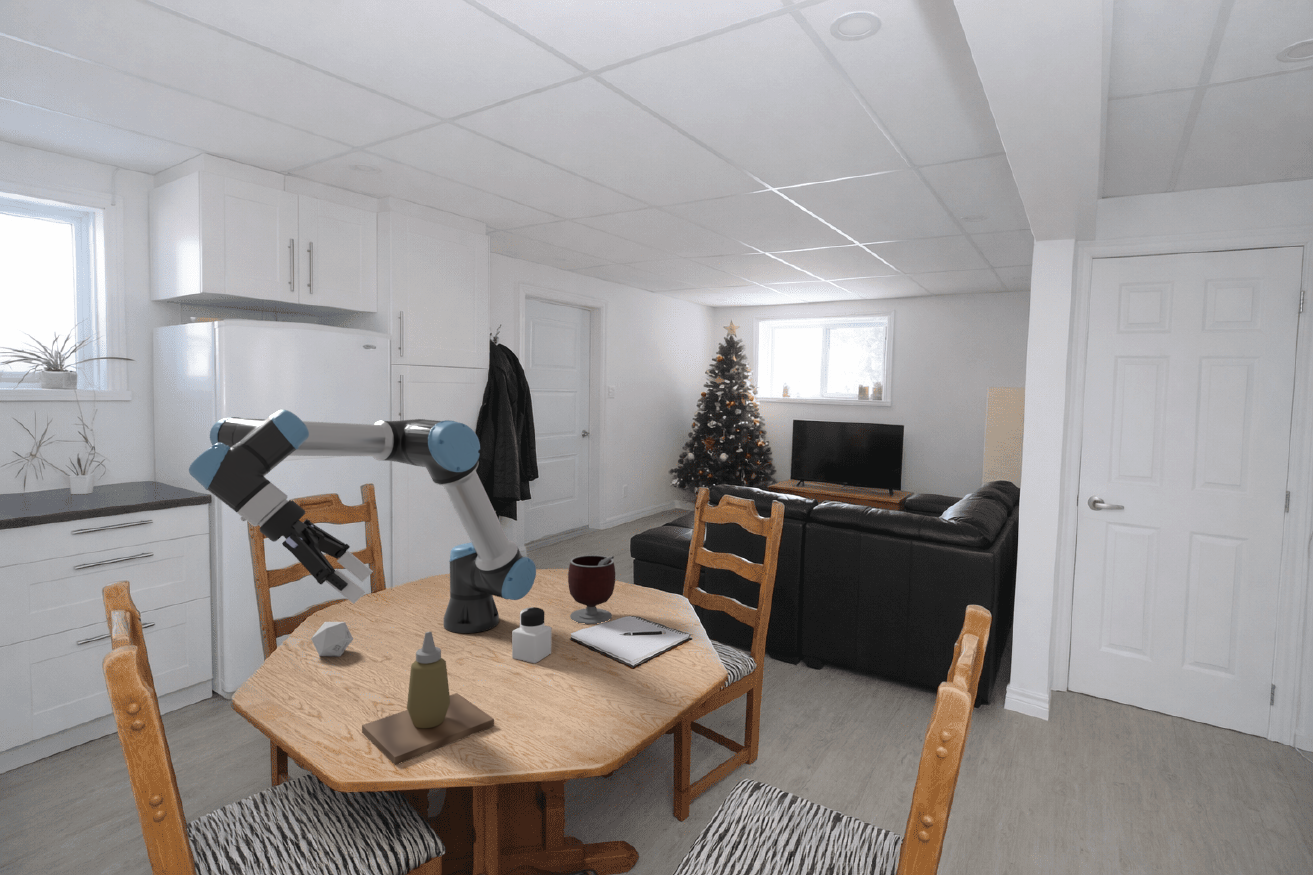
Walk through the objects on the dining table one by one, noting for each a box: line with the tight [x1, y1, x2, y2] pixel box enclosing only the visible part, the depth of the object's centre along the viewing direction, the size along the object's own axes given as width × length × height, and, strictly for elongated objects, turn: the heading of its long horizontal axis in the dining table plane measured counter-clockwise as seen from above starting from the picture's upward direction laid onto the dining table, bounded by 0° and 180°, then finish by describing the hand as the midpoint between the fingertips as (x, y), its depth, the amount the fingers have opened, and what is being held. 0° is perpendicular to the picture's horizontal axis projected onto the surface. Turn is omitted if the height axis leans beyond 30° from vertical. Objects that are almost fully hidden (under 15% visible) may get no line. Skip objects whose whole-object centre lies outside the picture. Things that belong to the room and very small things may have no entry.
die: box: [310, 621, 354, 657], centre depth 162 cm, size 8×9×10 cm
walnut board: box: [361, 692, 495, 766], centre depth 128 cm, size 20×15×2 cm
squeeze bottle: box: [406, 631, 451, 728], centre depth 127 cm, size 8×8×18 cm
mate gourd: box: [567, 554, 616, 625], centre depth 192 cm, size 16×14×20 cm
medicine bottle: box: [511, 606, 552, 664], centre depth 164 cm, size 7×7×12 cm
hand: (364, 586), depth 126 cm, fingers open, 13 cm apart
